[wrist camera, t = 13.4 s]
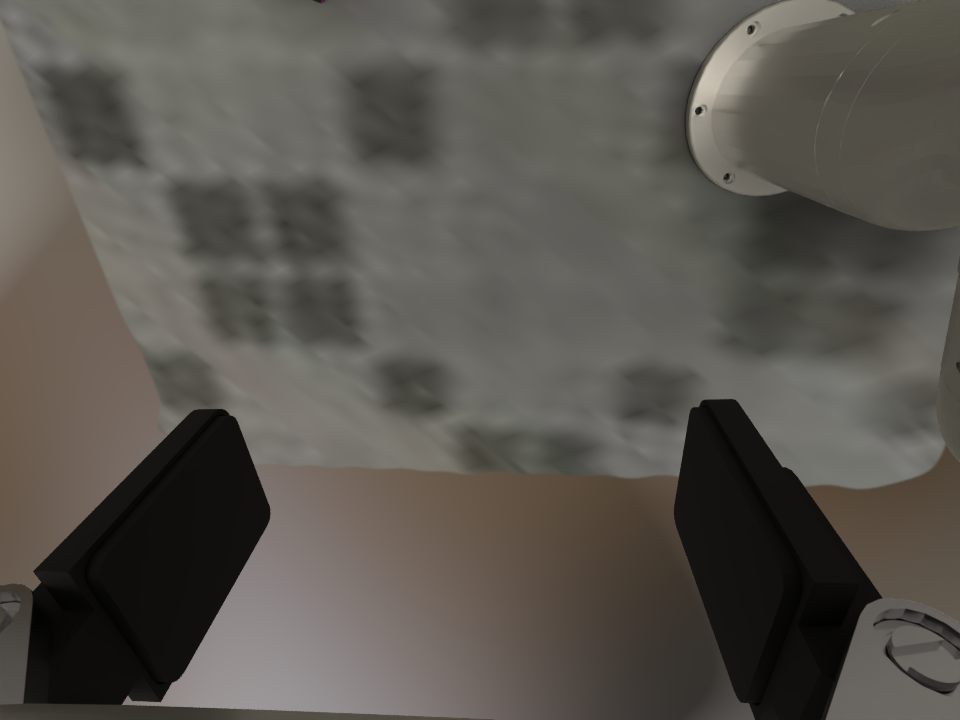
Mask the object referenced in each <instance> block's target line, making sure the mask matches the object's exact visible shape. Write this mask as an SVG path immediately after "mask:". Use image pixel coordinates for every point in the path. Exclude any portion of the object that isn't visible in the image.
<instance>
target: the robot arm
mask: <svg viewBox="0 0 960 720" xmlns="http://www.w3.org/2000/svg"><path fill="white" fill-rule="evenodd" d="M749 26H751V27H752V32H751V33H750V34H748V33H747V29H748V27H749ZM697 107H700V108H701V111H700V113H699V114H697V115H696V113H695V110H696V108H697ZM686 136H687V140H688V145H689V149H690V152H691V154H692V156H693V158H694V161H695V163H696V164H697V166H698V167H699V168H700V170H701V171H702V172H703V174H704V175H705V176H707V177H708V178H709V179H710V180H711V181H713V182H714V183H715V184H717V185H718V186H720V187H722V188H724V189H726V190H729V191H731V192H734V193H737V194H741V195H748V196H771V195H775V194H779V193H783V192H787V191H791V192H793V193H796V194H798V195H801V196H803V197H806V198H808V199H811V200H813V201H816V202H818V203H820V204H823V205H825V206H828V207H830V208H833V209H835V210H838V211H840V212H843V213H845V214H848V215H850V216H853V217H856V218H859V219H861V220H864V221H866V222H869V223H871V224H875V225H878V226H881V227H885V228H889V229H895V230H904V231H929V230H938V229H946V228H951V227H957V226H960V0H922V1H917V2H912V3H907V4H902V5H897V6H892V7H887V8H882V9H877V10H872V11H867V12H862V13H857V14H856V13H855V12H854V11H853V10H851V9H849V8H848V7H846V6H844V5H843V4H841V3H839V2H836V1H832V0H785V1H781V2H778V3H775V4H772V5H769V6H767V7H765V8H763V9H761V10H759V11H757V12H755V13H753V14H751V15H749V16H748V17H746V18H745V19H744V20H742V21H741V22H740V23H738V24H737V25H736V26H734V27H733V28H732V29H731V30H730V31H729V32H728V33H727V34H726V35H725V36H724V37H723V38H722V39H721V40H720V41H719V42H718V43H717V44H716V45H715V47H714V48H713V50H712V51H711V52H710V54H709V55H708V56H707V58H706V59H705V61H704V62H703V64H702V66H701V68H700V70H699V72H698V74H697V76H696V78H695V80H694V83H693V86H692V89H691V92H690V95H689V98H688V105H687V111H686ZM726 173H728V177H727V178H726V179H723V178H724V175H725V174H726ZM958 273H959V275H958V280H957V285H956V290H955V295H954V301H953V306H952V311H951V316H950V321H949V326H948V332H947V337H946V342H945V347H944V352H943V358H942V363H941V372H940V377H939V383H938V392H937V403H936V411H937V420H938V424H939V429H940V432H941V434H942V437H943V439H944V441H945V443H946V445H947V447H948V448H949V450H950V451H951V452H952V454H953V455H954V456H955V457H956V458H957V460H958V461H959V462H960V258H959V263H958ZM269 519H270V506H269V504H268V501H267V498H266V496H265V493H264V490H263V488H262V485H261V482H260V480H259V477H258V475H257V472H256V470H255V467H254V464H253V461H252V459H251V456H250V454H249V451H248V448H247V446H246V443H245V440H244V438H243V435H242V432H241V430H240V427H239V425H238V422H237V420H236V418H235V417H233V416H230V415H229V413H228V412H227V411H226V410H223V409H198V410H194V411H192V412H191V413H190V414H189V415H188V416H187V417H186V418H185V419H184V420H183V421H182V422H181V423H180V424H179V425H178V426H177V427H176V428H175V429H174V430H173V431H172V432H171V433H170V434H169V435H168V436H167V437H166V438H165V439H164V440H163V441H162V442H161V443H160V444H159V445H158V446H157V447H156V448H155V449H154V450H153V451H152V452H151V453H150V454H149V455H148V456H147V457H146V458H145V459H144V460H143V461H142V462H141V463H140V464H139V465H138V466H137V467H136V468H135V469H134V470H133V471H132V472H131V473H130V474H129V475H128V476H127V477H126V478H125V479H124V480H123V481H122V482H121V483H120V484H119V485H118V486H117V487H116V488H115V490H113V491H112V492H111V493H110V494H109V495H108V496H107V497H106V498H105V499H104V500H103V501H102V503H101V504H100V505H98V506H97V507H96V509H95V510H94V511H93V512H92V513H91V514H90V515H89V516H88V517H87V518H86V519H85V520H84V521H83V522H82V523H81V524H80V525H79V526H78V527H77V528H76V529H75V530H74V531H73V532H72V533H71V534H70V535H69V536H68V537H67V538H66V539H65V540H64V541H63V542H62V543H61V544H60V545H59V546H58V547H57V548H56V549H55V550H54V551H53V552H52V553H51V554H50V555H49V556H48V557H47V558H46V559H45V560H44V561H43V562H42V563H41V564H40V565H39V566H38V567H37V568H36V569H35V570H34V571H33V572H34V573H35V575H36V576H37V577H38V578H39V580H40V581H41V583H40V585H39V586H38V587H37V588H36V589H35V590H34V591H32V590H31V589H30V588H28V587H27V586H25V585H22V584H14V583H13V584H6V585H0V720H492V719H470V718H447V717H424V716H399V715H376V714H375V715H374V714H352V713H327V712H301V711H277V710H276V711H275V710H249V709H221V708H220V709H219V708H193V707H164V706H163V707H162V706H135V705H122V704H123V702H124V700H125V699H126V697H127V696H129V697H130V699H131V700H132V701H149V702H161V701H162V699H163V697H164V695H165V694H166V692H167V690H168V689H169V687H170V685H171V683H172V682H175V681H177V680H178V679H179V678H180V677H181V676H182V674H183V673H184V671H185V670H186V668H187V666H188V664H189V663H190V661H191V659H192V657H193V656H194V654H195V652H196V650H197V649H198V647H199V645H200V643H201V642H202V640H203V638H204V636H205V634H206V633H207V631H208V629H209V627H210V626H211V624H212V622H213V620H214V619H215V617H216V615H217V613H218V612H219V610H220V608H221V606H222V605H223V603H224V601H225V599H226V597H227V596H228V594H229V592H230V590H231V589H232V587H233V585H234V583H235V582H236V580H237V578H238V576H239V575H240V573H241V571H242V569H243V567H244V566H245V564H246V562H247V560H248V559H249V557H250V555H251V553H252V552H253V550H254V548H255V546H256V544H257V543H258V541H259V539H260V537H261V536H262V534H263V532H264V530H265V528H266V527H267V525H268V522H269ZM674 519H675V524H676V527H677V530H678V533H679V536H680V539H681V541H682V544H683V547H684V550H685V553H686V556H687V558H688V561H689V564H690V567H691V570H692V572H693V575H694V578H695V581H696V584H697V587H698V590H699V592H700V595H701V598H702V601H703V604H704V607H705V609H706V612H707V615H708V618H709V621H710V624H711V627H712V629H713V632H714V635H715V638H716V641H717V643H718V646H719V649H720V652H721V655H722V658H723V661H724V663H725V666H726V669H727V671H728V675H729V677H730V680H731V683H732V686H733V689H734V691H735V694H736V696H737V698H738V699H739V701H740V702H742V703H749V704H750V707H751V709H752V712H753V715H754V718H755V720H960V623H959V622H958V621H956V620H954V619H952V618H951V617H949V616H947V615H945V614H943V613H942V612H940V611H938V610H936V609H934V608H931V607H928V606H926V605H923V604H920V603H918V602H914V601H909V600H904V599H899V598H887V599H883V598H882V597H881V595H880V594H879V592H878V591H877V589H876V588H875V587H874V585H873V584H872V582H871V581H870V579H869V578H868V577H867V575H866V574H865V573H864V571H863V570H862V568H861V567H860V566H859V564H858V563H857V561H856V560H855V558H854V557H853V555H852V554H851V552H850V551H849V550H848V548H847V547H846V546H845V544H844V542H843V541H842V540H841V538H840V537H839V535H838V534H837V533H836V531H835V530H834V528H833V527H832V525H831V524H830V523H829V521H828V520H827V518H826V517H825V515H824V514H823V513H822V511H821V510H820V508H819V507H818V506H817V504H816V503H815V501H814V500H813V498H812V497H811V496H810V494H809V493H808V491H807V490H806V488H805V487H804V486H803V484H802V483H801V481H800V480H799V478H798V477H797V476H796V475H795V474H794V473H793V471H792V470H790V469H788V468H786V467H782V466H781V465H780V463H779V462H778V460H777V459H776V457H775V456H774V454H773V453H772V451H771V450H770V449H769V447H768V446H767V444H766V443H765V441H764V440H763V438H762V437H761V435H760V434H759V432H758V431H757V429H756V428H755V427H754V425H753V424H752V422H751V421H750V419H749V418H748V416H747V415H746V413H745V412H744V410H743V409H742V407H741V406H740V405H739V403H738V402H737V401H736V400H734V399H718V400H703V401H702V402H701V403H700V406H699V407H693V408H692V409H691V411H690V414H689V420H688V426H687V432H686V438H685V444H684V451H683V457H682V463H681V469H680V475H679V481H678V487H677V493H676V499H675V505H674Z"/></svg>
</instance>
